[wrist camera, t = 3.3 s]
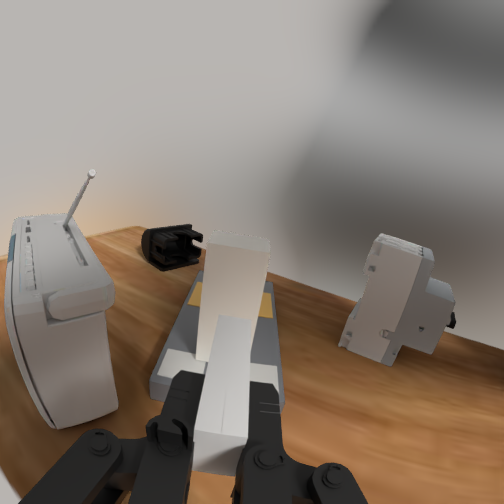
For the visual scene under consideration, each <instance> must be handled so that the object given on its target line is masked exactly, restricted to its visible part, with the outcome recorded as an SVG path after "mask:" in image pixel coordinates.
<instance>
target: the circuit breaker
mask: <svg viewBox="0 0 504 504" xmlns="http://www.w3.org/2000/svg"><path fill="white" fill-rule="evenodd" d="M434 264H435V261H434V257H433V253H432V250H431V249H428V248H425V247H422V246H419V245H416V244H413V243H410V242H407V241H404V240H401V239H398V238H395V237H392V236H389V235H385V234H383V233H381V234H380V235H379V236H378V238H376V240H375V241H374V243H373V246H372V248H371V250H370V253H369V255H368V257H367V260H366V264H365V267H364V270H363V274H365V275H368V276H369V279H368V282H367V285H366V288H365V291H364V294H363V297H362V298H360V299H359V301H358V302H357V304H356V306H355V307H354V309H353V310H352V312H351V314H350V315H349V317H348V319H347V322H346V325H345V327H344V330H343V333H342V336H341V339H340V342H339V344H338V346H339V347H341V346H343V347H345V348H347V349H346V350H349V351H351V352H354V353H356V354H359V355H361V356H364V357H366V358H369V359H372V360H374V361H377V362H379V363H380V362H381V363H382V364H385V365H387V366H390V367H391V366H392V364H393V362H394V360H395V359H396V357H397V354H398V352H399V350H400V348H401V346H402V345H405V346H408V347H411V348H413V349H416V350H419V351H422V352H425V353H428V354H430V355H431V354H432V353H433V351H434V349H435V347H436V345H437V343H438V341H439V339H440V337H441V335H442V333H443V331H444V329H445V327H446V326H447V327H449V328H452V329H453V328H454V327H455V324H456V320H455V314H454V312H452V311H453V308H454V306H455V300H454V297H453V293H452V290H451V287H450V284H447V283H444V282H442V281H439V280H437V279H434V278H431V277H430V275H431V273H432V270H433V267H434Z"/></svg>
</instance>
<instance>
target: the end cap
mask: <svg viewBox="0 0 504 504" xmlns="http://www.w3.org/2000/svg"><path fill="white" fill-rule="evenodd" d="M193 239H194V240H196V241H198V242H200V243H201V242H202V241H203V235H202V234H201V233H198V232H196V231H194V230H192V225H191V224H185V225H176V226H168V227H160V228H152V229H147V230H145V231H144V233H143V235H142V239H141V246H142V251H143V254H144V256H145V258H146V259H147V260H148V261H149V263H150V264H151V265H153V266H154V267H156V268H157V269H159V270H160V271H168V270H173V269H177V268H181V267H185V266H189V265H194V264H198V263H199V260H198V259H197V258H199V257H200V256H201V248H199V247H197V246H195V245H193V243H192V240H193Z"/></svg>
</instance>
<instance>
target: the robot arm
mask: <svg viewBox="0 0 504 504" xmlns="http://www.w3.org/2000/svg"><path fill="white" fill-rule="evenodd" d="M250 353H251V320H250V319H243V318H237V317H231V316H226V315H220V314H219V316H218V321H217V325H216V330H215V334H214V339H213V343H212V348H211V352H210V357H209V361H208V366H207V371H206V375H205V374H200V373H195V372H190V371H185V370H180V371H179V372H178V373H177V374H176V375H175V376H174V377H173V379H172V382H171V385H170V388H169V391H168V394H167V397H166V399H165V402H164V405H163V408H162V412H161V415H159V416H155V417H154V418H152V419H151V420H149V422H148V423H147V425H146V433H147V436H146V437H144V438H140V439H118V438H117V437H116V436H115V435H114V434H113V433H112V432H110V431H107V430H105V429H92V430H88V431H87V432H85V433H84V434H82V436H81V437H80V438H79V439H78V440H77V441H76V442H75V443H74V444H73V445H72V446H71V447H70V448H69V450H68V451H67V452H66V453H65V454H64V455H63V456H62V457H61V458H60V459H59V460H58V461H57V462H56V464H55V465H54V466H53V467H52V468H51V469H50V470H49V471H48V472H47V473H46V474H45V475H44V476H43V477H42V479H41V480H40V481H39V482H38V483H37V484H36V485H35V486H34V487H33V488H32V489H31V490H30V491H29V493H28V494H27V495H26V496H25V497H24V498H23V499H22V500H21V501H20V502H19V503H18V504H121V502H122V501H123V499H124V498H125V496H126V495H127V494H128V492H129V491H132V493H131V496H130V499H129V503H128V504H187V498H188V492H189V486H190V477H191V471H192V470H194V471H200V472H206V473H212V474H219V475H227V476H235V474H236V478H235V486H234V488H233V491H232V493H231V496H230V497H232V504H368V502H367V500H366V499H365V497H364V495H363V493H362V491H361V490H360V488H359V486H358V484H357V482H356V480H355V479H354V477H353V475H352V473H351V472H350V471H349V470H348V468H346V467H345V466H343V465H341V464H337V463H325V464H323V465H320V466H319V467H318V468H316V467H313V466H309V465H305V464H302V463H299V462H297V461H295V460H293V459H292V458H290V457H289V456H288V455H287V454H286V452H285V450H284V448H283V442H282V429H281V416H280V406H279V404H280V403H279V393H278V391H277V390H276V388H275V387H274V385H273V384H272V383H263V382H255V381H250Z"/></svg>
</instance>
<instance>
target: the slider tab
mask: <svg viewBox="0 0 504 504" xmlns="http://www.w3.org/2000/svg"><path fill="white" fill-rule="evenodd" d="M270 255H271V251H270V243H269V239H266V238H260V237H254V236H248V235H242V234H236V233H229V232H224V231H217V230H214V232H213V233H212V235H211V237H210V239H209V240H208V242H207V249H206V257H205V265H204V274H203V283H202V293H201V303H200V313H199V324H198V335H197V347H196V360H200V361H205V362H208V361H209V357H210V352H211V348H212V343H213V339H214V334H215V330H216V325H217V321H218V316H219V314H220V315H226V316H231V317H237V318H243V319H250V320H251V347H252V343H253V338H254V333H255V328H256V324H257V319H258V314H259V309H260V304H261V300H262V295H263V290H264V285H265V280H266V275H267V270H268V265H269V260H270Z"/></svg>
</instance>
